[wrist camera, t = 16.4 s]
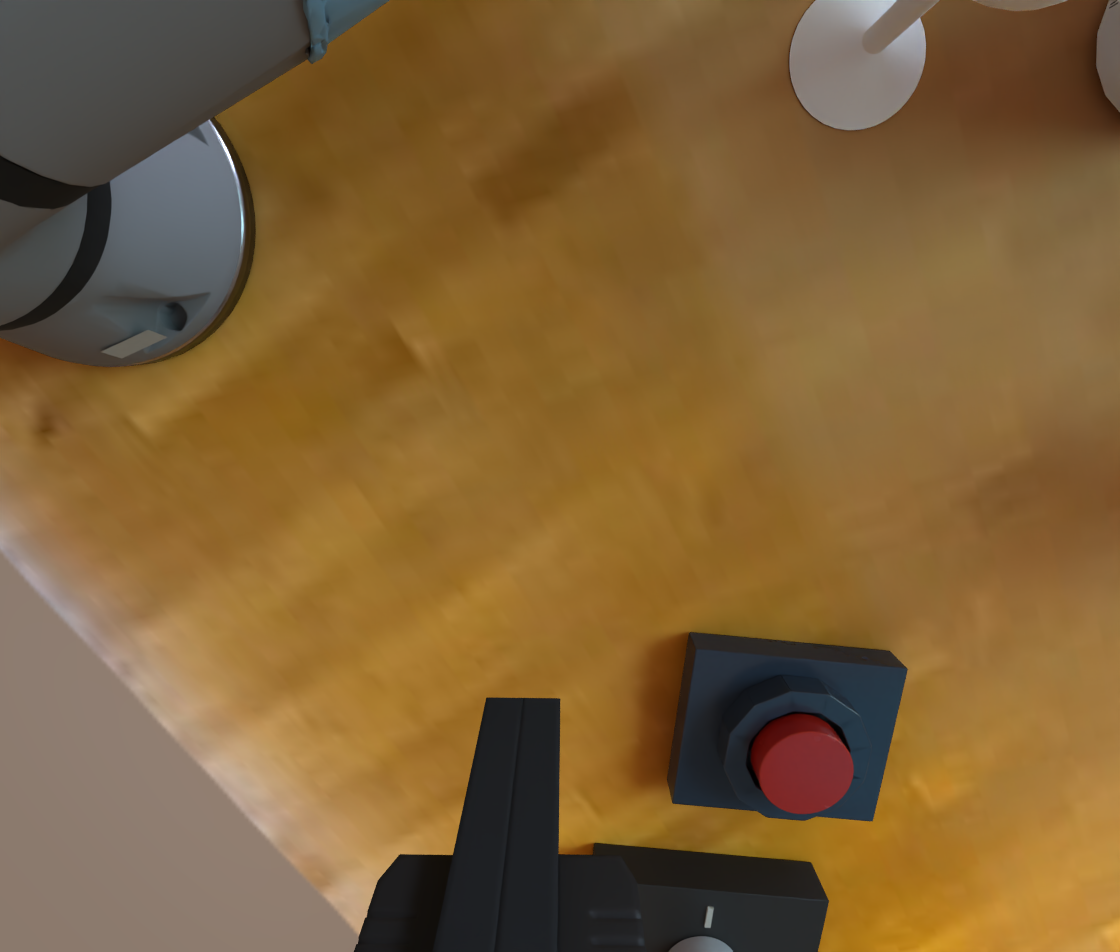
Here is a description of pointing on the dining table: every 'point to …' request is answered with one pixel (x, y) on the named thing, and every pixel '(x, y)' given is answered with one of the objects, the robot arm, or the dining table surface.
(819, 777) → the power button
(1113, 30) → the supplement can
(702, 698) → the button housing
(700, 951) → the timer dial
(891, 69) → the champagne flute
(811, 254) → the dining table surface
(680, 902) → the control panel
